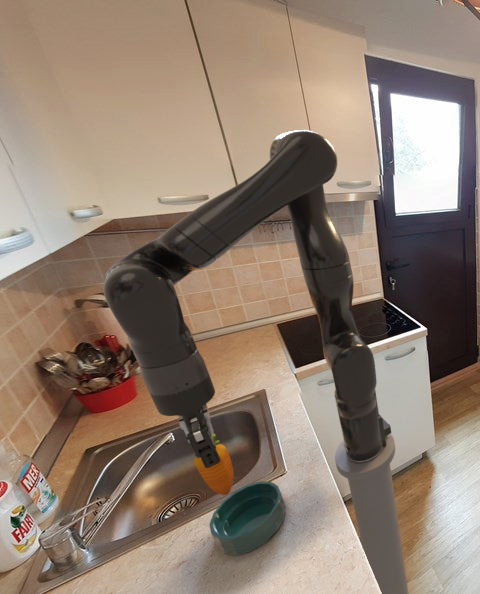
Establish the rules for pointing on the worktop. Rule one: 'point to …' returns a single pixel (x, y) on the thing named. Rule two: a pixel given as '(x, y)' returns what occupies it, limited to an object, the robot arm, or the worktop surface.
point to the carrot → (217, 471)
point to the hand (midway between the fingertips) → (210, 454)
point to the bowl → (248, 518)
